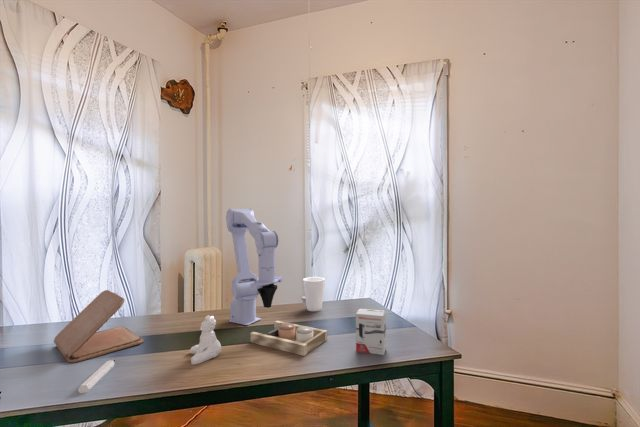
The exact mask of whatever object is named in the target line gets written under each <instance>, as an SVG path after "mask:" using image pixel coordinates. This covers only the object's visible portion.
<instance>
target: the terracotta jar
mask: <svg viewBox="0 0 640 427" xmlns="http://www.w3.org/2000/svg"><path fill="white" fill-rule="evenodd" d="M294 324H295V323H292V322H287V323H283V324H281V325H279V327H278V337H279V338H283V339H288V340H292V341H296V335H295V326H294Z"/></svg>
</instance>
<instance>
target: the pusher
mask: <svg viewBox="0 0 640 427" xmlns="http://www.w3.org/2000/svg"><path fill="white" fill-rule="evenodd" d="M266 335H270V336H275V337H278V328H276V329H275V328H274V329H272V330H270V331H269V332H267V334H266Z"/></svg>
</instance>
